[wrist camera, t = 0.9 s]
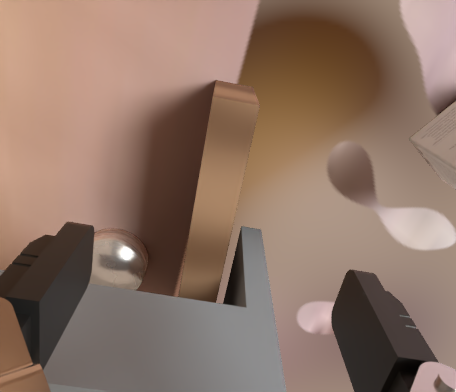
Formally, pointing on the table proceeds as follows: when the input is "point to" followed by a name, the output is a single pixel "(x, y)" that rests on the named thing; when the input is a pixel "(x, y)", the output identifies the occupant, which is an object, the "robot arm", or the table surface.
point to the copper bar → (218, 188)
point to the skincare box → (439, 144)
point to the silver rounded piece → (118, 259)
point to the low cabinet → (174, 337)
